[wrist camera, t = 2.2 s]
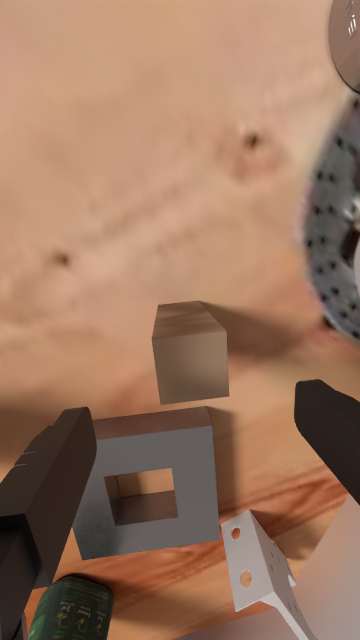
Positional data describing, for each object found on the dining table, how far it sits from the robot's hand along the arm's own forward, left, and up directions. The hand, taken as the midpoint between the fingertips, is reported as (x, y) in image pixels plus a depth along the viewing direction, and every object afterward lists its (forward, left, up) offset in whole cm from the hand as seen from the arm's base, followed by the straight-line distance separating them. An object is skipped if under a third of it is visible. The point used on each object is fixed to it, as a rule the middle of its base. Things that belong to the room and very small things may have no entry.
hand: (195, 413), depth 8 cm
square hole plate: (+6, +18, -14) cm, 23 cm away
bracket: (-7, +32, -14) cm, 36 cm away
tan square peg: (0, 0, -14) cm, 14 cm away
